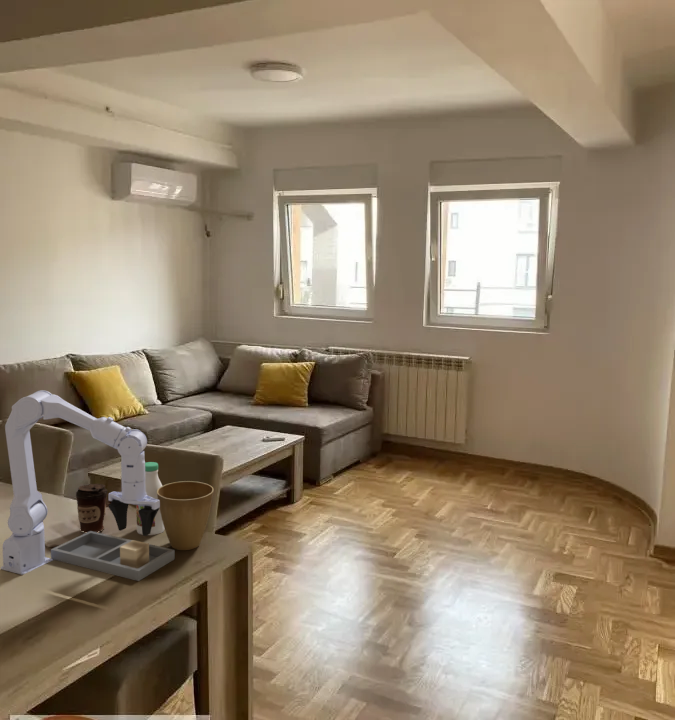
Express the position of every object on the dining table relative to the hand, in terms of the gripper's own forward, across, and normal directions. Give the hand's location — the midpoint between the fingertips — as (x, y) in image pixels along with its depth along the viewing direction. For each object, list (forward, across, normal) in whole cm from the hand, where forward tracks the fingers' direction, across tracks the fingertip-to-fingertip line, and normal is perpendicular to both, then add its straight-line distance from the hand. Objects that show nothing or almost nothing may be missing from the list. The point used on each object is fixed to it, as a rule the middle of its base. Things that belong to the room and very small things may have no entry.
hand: (134, 531), depth 176 cm
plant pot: (+9, -4, -16) cm, 19 cm away
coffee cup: (+9, +26, -13) cm, 31 cm away
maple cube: (+9, 0, 0) cm, 9 cm away
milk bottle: (+9, +11, -20) cm, 25 cm away
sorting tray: (+9, +7, 0) cm, 11 cm away
